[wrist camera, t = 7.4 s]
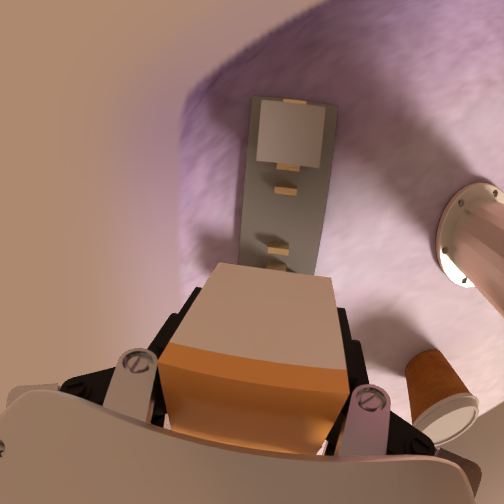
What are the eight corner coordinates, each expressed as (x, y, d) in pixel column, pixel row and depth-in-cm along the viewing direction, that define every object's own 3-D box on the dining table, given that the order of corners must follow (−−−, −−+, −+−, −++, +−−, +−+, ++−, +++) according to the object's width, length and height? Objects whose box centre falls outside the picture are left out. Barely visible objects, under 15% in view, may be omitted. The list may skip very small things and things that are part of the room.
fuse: (318, 114, 23) (325, 107, 18) (313, 162, 25) (319, 168, 20) (269, 109, 24) (261, 99, 18) (264, 156, 26) (256, 160, 20)
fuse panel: (336, 106, 24) (340, 103, 21) (304, 315, 33) (304, 329, 30) (253, 97, 25) (249, 92, 22) (236, 306, 33) (232, 318, 31)
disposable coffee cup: (383, 370, 34) (399, 439, 23) (437, 329, 31) (471, 393, 20) (412, 394, 36) (429, 454, 25) (460, 359, 32) (488, 416, 21)
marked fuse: (331, 277, 11) (349, 393, 6) (309, 360, 13) (306, 469, 8) (218, 262, 12) (157, 361, 6) (216, 346, 14) (176, 447, 8)
